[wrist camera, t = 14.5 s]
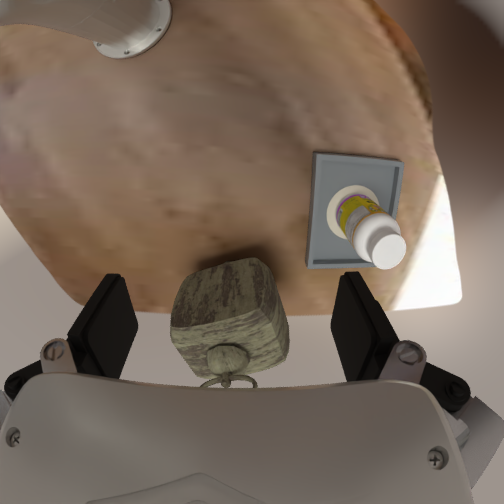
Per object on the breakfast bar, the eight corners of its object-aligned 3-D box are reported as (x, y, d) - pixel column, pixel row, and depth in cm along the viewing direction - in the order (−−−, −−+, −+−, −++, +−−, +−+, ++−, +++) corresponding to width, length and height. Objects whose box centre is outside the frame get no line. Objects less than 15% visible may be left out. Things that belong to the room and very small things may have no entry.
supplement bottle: (380, 213, 41) (421, 252, 30) (350, 239, 43) (381, 286, 32) (357, 182, 39) (398, 215, 27) (325, 211, 41) (354, 253, 30)
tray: (313, 151, 37) (316, 154, 35) (397, 159, 38) (404, 162, 36) (305, 261, 46) (307, 268, 44) (380, 260, 46) (385, 266, 44)
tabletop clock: (203, 303, 50) (181, 428, 28) (182, 262, 46) (139, 388, 24) (281, 283, 48) (302, 413, 26) (266, 237, 44) (284, 368, 22)
